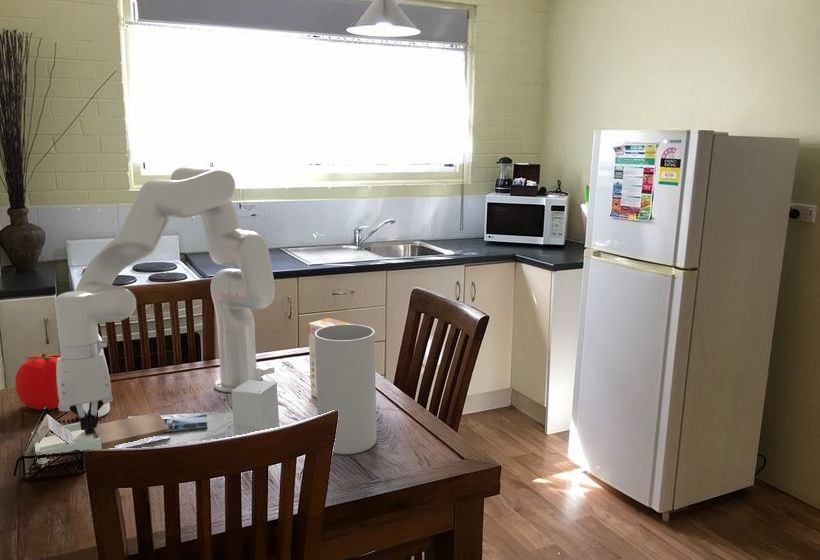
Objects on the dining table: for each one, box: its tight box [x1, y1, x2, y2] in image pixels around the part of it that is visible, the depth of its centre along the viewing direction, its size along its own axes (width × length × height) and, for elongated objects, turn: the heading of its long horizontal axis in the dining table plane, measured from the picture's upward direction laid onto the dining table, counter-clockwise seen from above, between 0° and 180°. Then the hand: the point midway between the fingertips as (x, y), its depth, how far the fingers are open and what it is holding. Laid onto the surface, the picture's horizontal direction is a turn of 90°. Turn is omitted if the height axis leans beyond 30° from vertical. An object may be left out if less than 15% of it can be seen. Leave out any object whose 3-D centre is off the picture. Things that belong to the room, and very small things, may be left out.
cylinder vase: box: [315, 323, 378, 455], centre depth 149 cm, size 12×12×25 cm
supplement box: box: [231, 380, 280, 437], centre depth 152 cm, size 7×7×13 cm
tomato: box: [14, 352, 61, 411], centre depth 173 cm, size 16×14×14 cm
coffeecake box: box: [307, 317, 350, 398], centre depth 175 cm, size 15×7×20 cm, turn 47°
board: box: [94, 412, 170, 449], centre depth 155 cm, size 14×11×2 cm
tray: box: [31, 421, 102, 464], centre depth 148 cm, size 12×12×4 cm
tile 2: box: [71, 430, 94, 443], centre depth 150 cm, size 5×5×2 cm
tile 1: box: [39, 435, 67, 451], centre depth 147 cm, size 5×5×2 cm
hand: (89, 431), depth 150 cm, fingers closed
